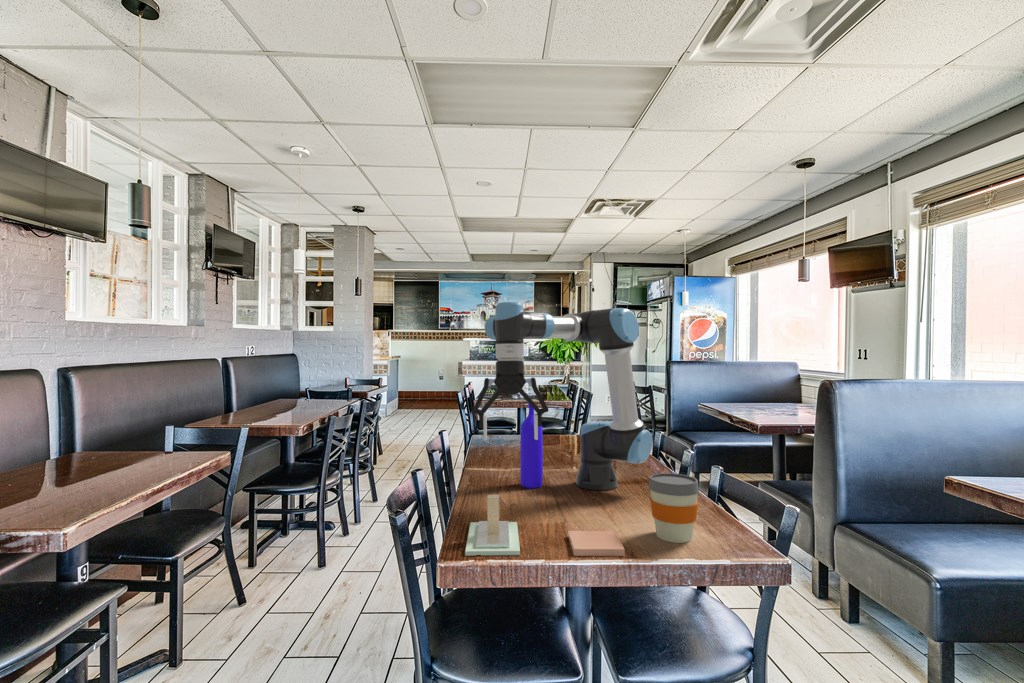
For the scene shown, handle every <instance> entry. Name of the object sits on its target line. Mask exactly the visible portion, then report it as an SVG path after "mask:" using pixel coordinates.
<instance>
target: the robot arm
mask: <svg viewBox="0 0 1024 683" xmlns="http://www.w3.org/2000/svg"><path fill="white" fill-rule="evenodd" d="M494 312H495V313H494V316H493V315H492V316H490V317H489V318H487V320H486V321H485V323H484V331H485V332H484V333H485V334H486V336H487V338H489V339H490V340H493V341H495V359H497V361H496V362H495V378H488V377H486V378H485V379H484V381H483V382H484V383H483V387H482V390H481V392H480V394H479V396H478V398H477V400H476V402H475V404H474V405H473V408H472V410H471V412H472V413H473V414H476V415H477V416H478V426H479V428H483V442H484V441H485V442H486V441H488V428H487V427H488V423H487V421H488V419H487V418H488V417H487V414H485V413H486V412H487V411H488V410H489V408H491V406H492V405H493V403H494V402H495V401H496V400H497V399H498V397H499V396H500V395H501V394H502V395H504V396H508V395H513V396H516V395H518V394H520V395H521V397H522V398H523V399H524V400H525V401H526V402H527V404H530V405H531V407H532V408H533V409H534V412H535V413H534V438H535V440H538V427H541V426H542V427H543V418H542V417H543V416H542V415H543V414H545V413H548V412H549V407H548V406H547V403H546V402H545V400H544V398H543V396H542V393H541V392H540V390H539V388H538V385H537V381H536V377H533V376H532V377H531V378H525V367H524V366H525V363H524V361H523V360H522V359H524V358H525V354H524V347H525V346H524V343H525V341H524V340H541V339H542V340H543V339H544V340H547V339H552V340H553V339H563V340H564V341H567V342H579V343H587V344H598V347H599V348H598V349H599V351H600V352H601V353H603V355H604V360H605V361H604V362H605V367H606V376H607V384H608V392H609V397H610V398H609V399H610V407H611V408H610V409H611V413H612V415H611V416H612V421H595V422H587V423H583V424H582V425H581V426H580V434H579V437H580V439H579V440H580V464H579V468H578V470H577V474H576V477H575V483H576V484H575V485H576V486H577V487H579V488H582V489H584V490H585V489H586V490H591V491H592V490H593V491H608V490H614V489H616V488H617V487H618V485H619V484H618V478H617V474H616V471H615V468H614V463H613V461H619V462H625V463H628V464H642V463H644V462H646V461H647V459H648V458H649V457H650V455H651V452H652V448H653V442H654V441H653V440H654V439H653V435H652V433H651V432H650V431H649V430H647V429H645V427H644V421H643V420H641V419H640V418H639V414H638V406H637V398H636V390H635V381H634V373H633V366H632V358H631V357H632V356H631V350H632V349H633V347H634V346H635V345H634V343H635V342H636V341H637V339H638V337H639V333H640V327H639V321H638V319H637V316H636V315H635V314H634V313H633V311H632V310H631V309H628V308H624V307H614V308H613V307H612V308H606V309H604V308H603V309H597V310H596V309H595V310H587V311H583V312H582V311H581V312H577V313H566V314H564V315H562V316H559V315H557V316H556V315H551V314H549V313H547V312H543V311H526V310H525V309H524V306H523V303H522V302H519V301H503V302H498V303H497V304H495V310H494ZM493 384H494V385H495V386H496V388H497V389H496V390H495V392H493V394H492V396H490V398H489V399H488V401H486V403H485V404H484V405H483V406H482V407H481V408H480V409H479V407H480V405H481V404H482V402H483V399H484V398H485V395H486V393H487V391H488V389H489V388H490V387H492V385H493ZM526 384H528V386H529V387H531V389H532V390H533V392H534V394H535V396H536V398H537V400H538V402H539V404H540V405H541V406H540V407H541V408H539V406H538V404H536V403H535V402H534V401H533V399H532V398H531V397H530V396H529V395H528V393H526V391H525V390H524V389H523V388H524V386H525V385H526Z"/></svg>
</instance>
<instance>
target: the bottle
mask: <svg viewBox="0 0 1024 683" xmlns="http://www.w3.org/2000/svg"><path fill="white" fill-rule="evenodd" d="M527 406H528V415H527V417H525V418H524V420H523V421H522V422H521V425H520V439H519V440H520V449H519V450H520V451H519V452H520V455H519V456H520V458H519V459H520V460H519V461H520V462H519V463H520V465H519V466H520V467H519V468H520V486H521V487H522V486H523V487H522V488H524V487H526V488H525V489H539V488H538V487H540V488H542V486H543V479H544V476H543V475H544V472H543V471H544V447H543V446H544V444H543V440H544V439H543V435H544V434H543V425H542V426H541V427H538V440H535V438H534V414H535V410H534V409H533V408H532V407H531V405H530V404H529V403H527Z"/></svg>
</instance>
